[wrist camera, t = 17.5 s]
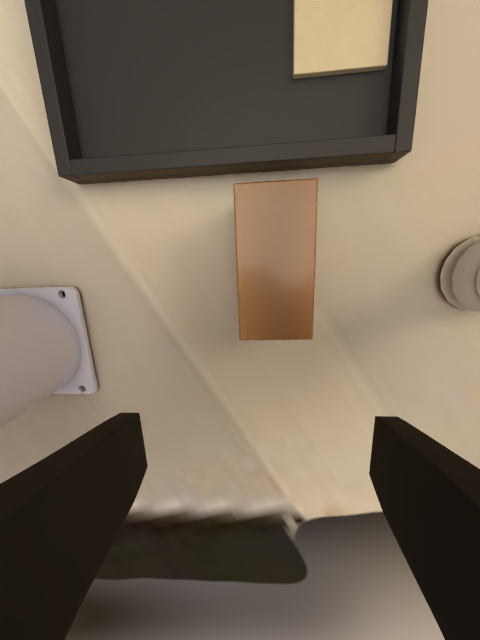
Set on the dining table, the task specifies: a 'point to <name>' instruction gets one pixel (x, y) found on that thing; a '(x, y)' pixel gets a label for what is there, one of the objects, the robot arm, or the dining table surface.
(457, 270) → the rook chess piece
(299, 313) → the eraser
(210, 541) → the dining table surface
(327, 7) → the paper scrap
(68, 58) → the tray
